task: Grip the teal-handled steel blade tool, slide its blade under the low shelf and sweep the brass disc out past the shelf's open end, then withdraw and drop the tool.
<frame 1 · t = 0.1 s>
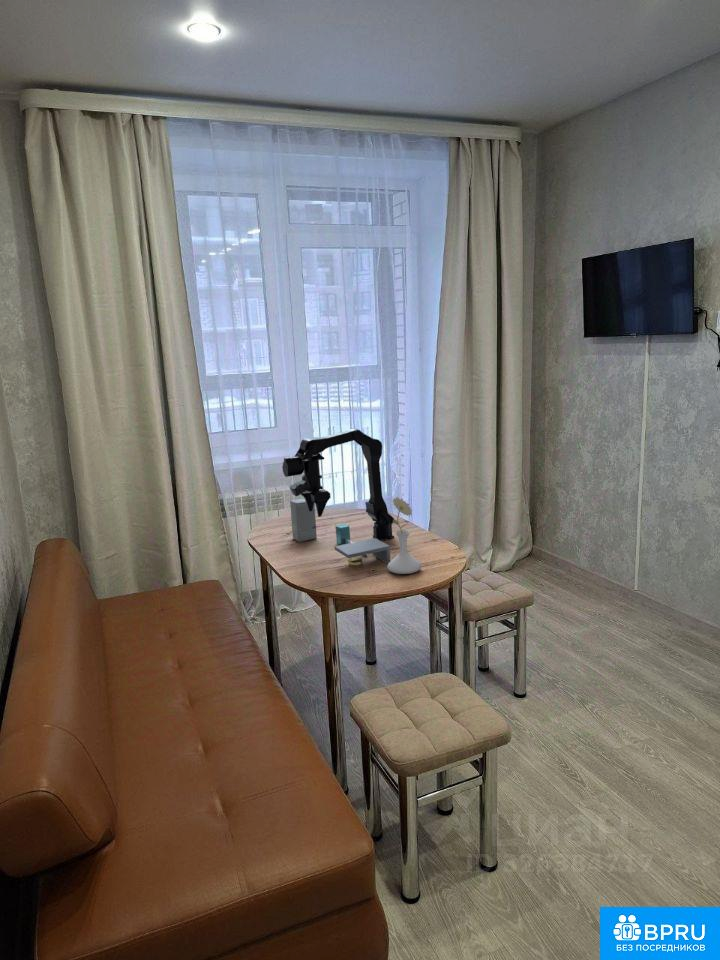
hand: (315, 513, 244), 14 cm above the table, fingers open, 9 cm apart
skincare box: (305, 538, 264), on the table
blade tool: (343, 543, 255), on the table
shelf: (363, 562, 231), on the table
flower in vase: (403, 570, 222), on the table
token: (355, 565, 230), on the table
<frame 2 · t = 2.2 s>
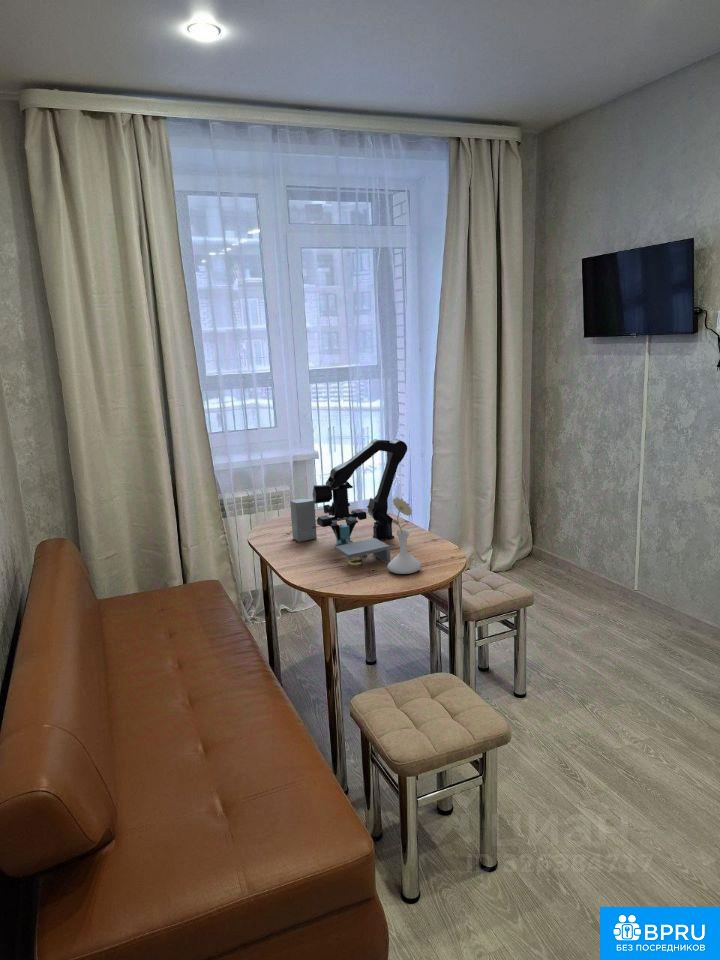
hand: (343, 539, 254), 2 cm above the table, fingers closed on blade tool, 4 cm apart
blade tool: (343, 543, 255), on the table, touching gripper
everything else where it was.
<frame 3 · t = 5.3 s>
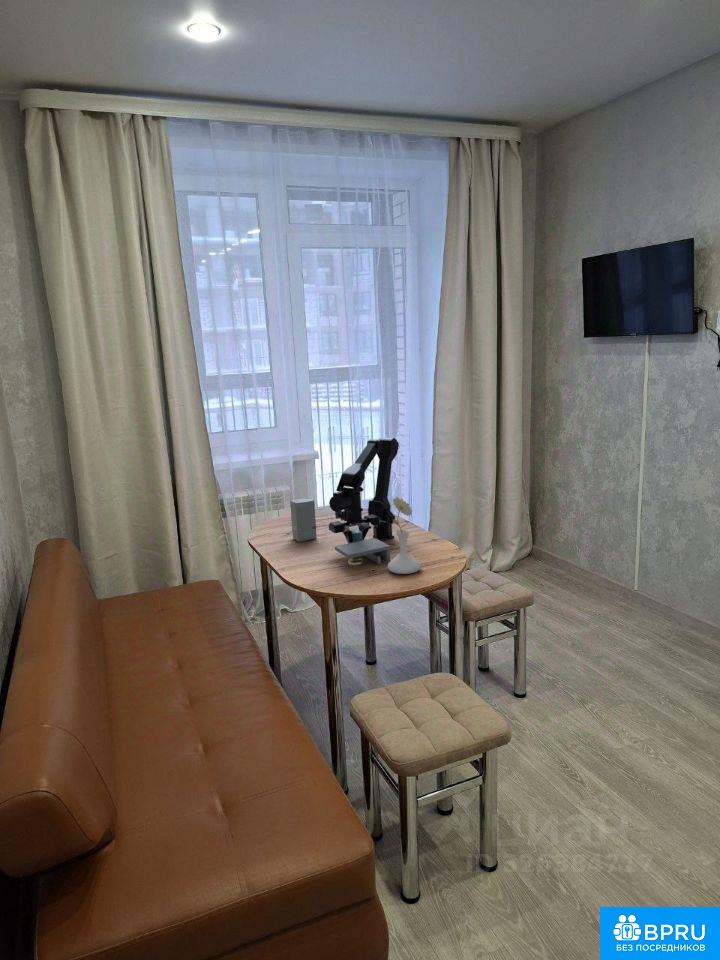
hand: (355, 545, 245), 2 cm above the table, fingers closed on blade tool, 4 cm apart
blade tool: (356, 549, 245), on the table, touching gripper
everything else where it was.
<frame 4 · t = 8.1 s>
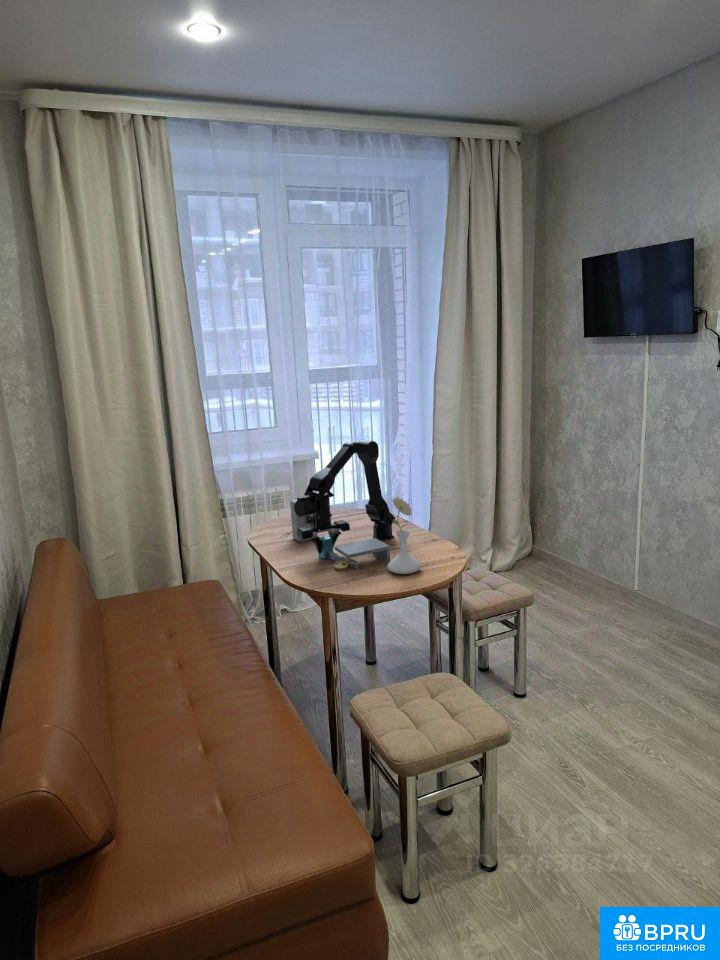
hand: (325, 552, 239), 2 cm above the table, fingers closed on blade tool, 4 cm apart
blade tool: (326, 556, 239), on the table, touching gripper
token: (341, 568, 227), on the table
everything else where it was.
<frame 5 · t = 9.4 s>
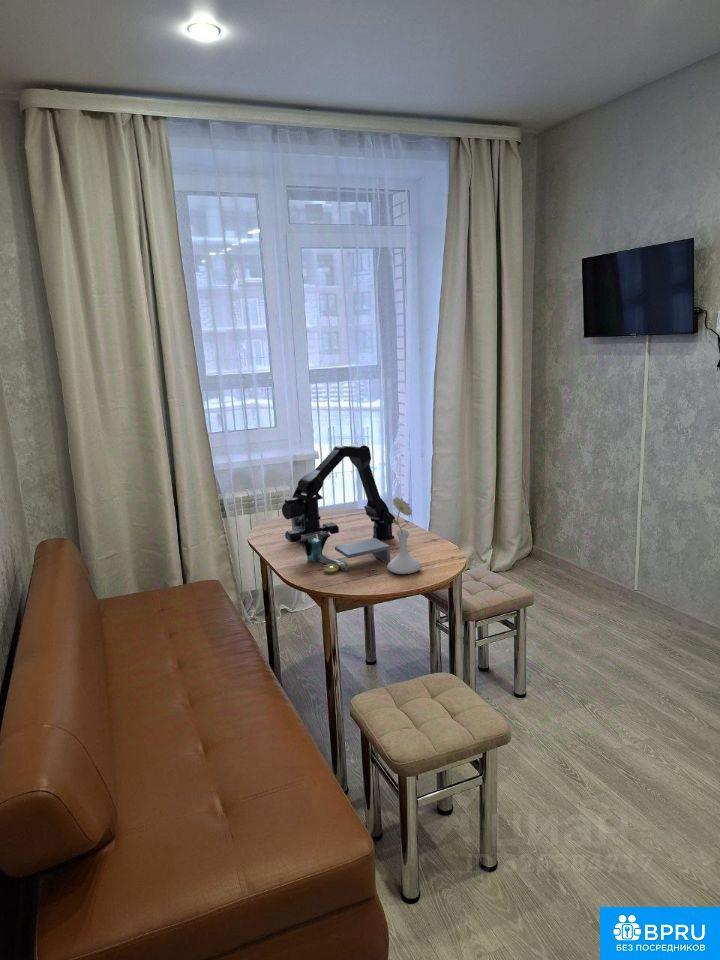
hand: (314, 554, 237), 2 cm above the table, fingers closed on blade tool, 4 cm apart
blade tool: (315, 559, 237), on the table, touching gripper
token: (331, 571, 225), on the table
everything else where it was.
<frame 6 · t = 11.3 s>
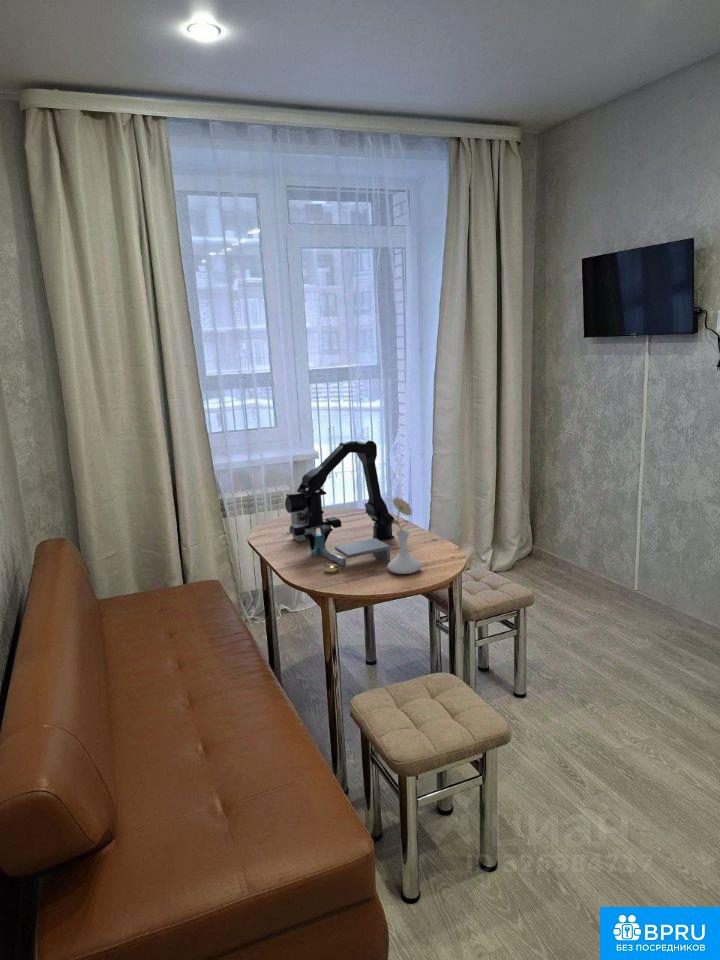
hand: (317, 548, 245), 2 cm above the table, fingers closed on blade tool, 4 cm apart
blade tool: (318, 552, 244), on the table, touching gripper
everything else where it was.
when the fingers open (2 cm above the table, at t = 12.5 s): blade tool stays where it is, on the table.
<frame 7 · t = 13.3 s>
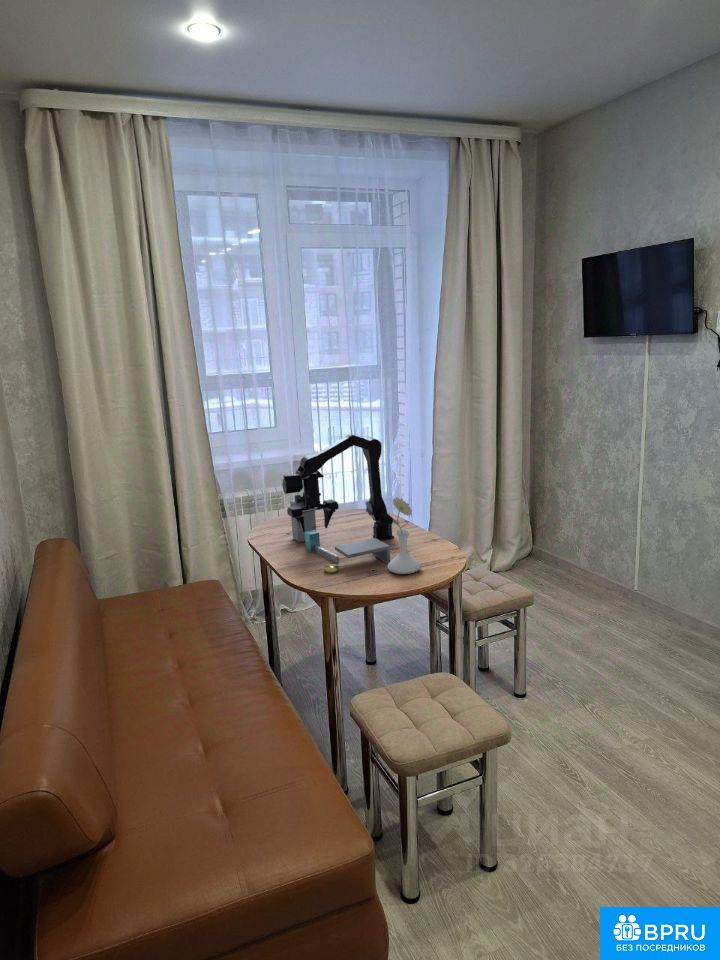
hand: (314, 530, 248), 7 cm above the table, fingers open, 9 cm apart
blade tool: (313, 550, 249), on the table
everything else where it was.
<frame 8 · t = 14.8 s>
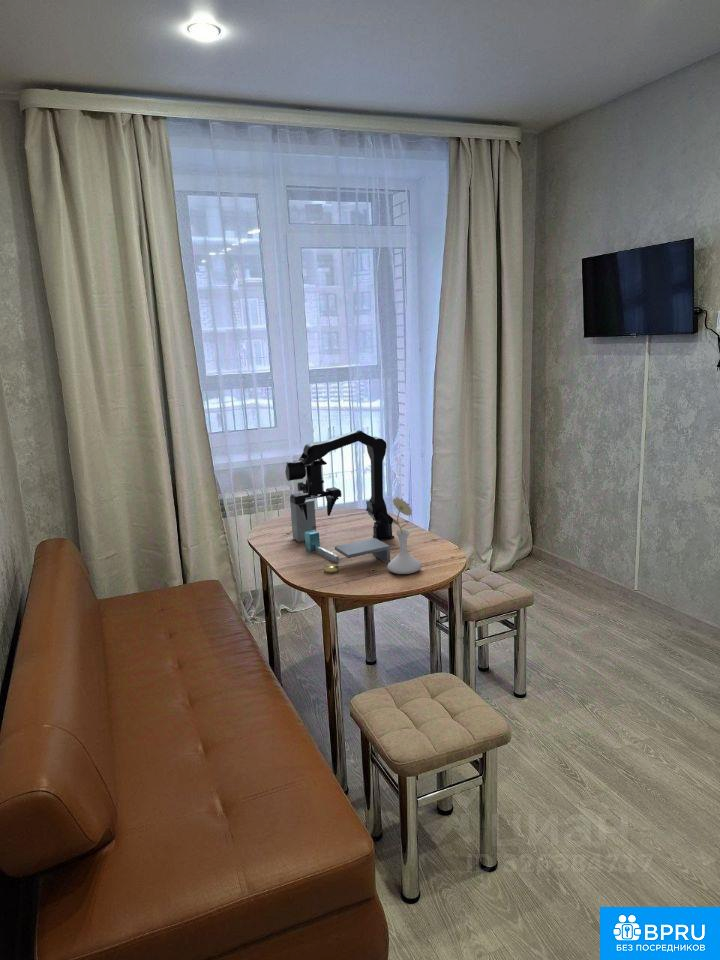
hand: (317, 517, 248), 12 cm above the table, fingers open, 9 cm apart
nothing on the table moved.
at the end: token inside the target area (4.7 cm from its centre), on the table; token touching table; the gripper is holding nothing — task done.
